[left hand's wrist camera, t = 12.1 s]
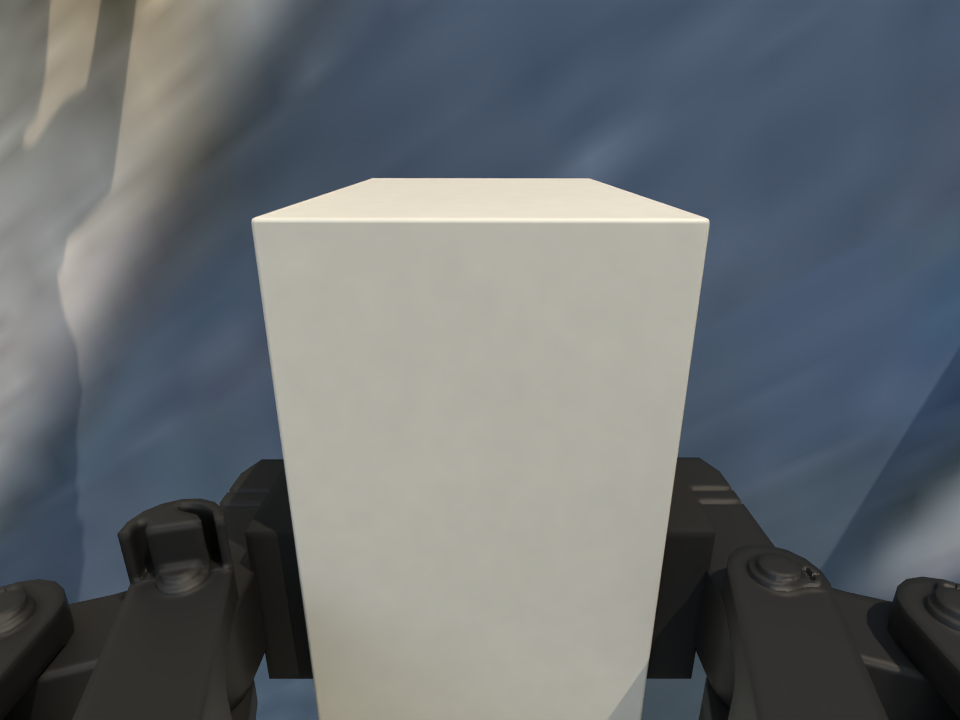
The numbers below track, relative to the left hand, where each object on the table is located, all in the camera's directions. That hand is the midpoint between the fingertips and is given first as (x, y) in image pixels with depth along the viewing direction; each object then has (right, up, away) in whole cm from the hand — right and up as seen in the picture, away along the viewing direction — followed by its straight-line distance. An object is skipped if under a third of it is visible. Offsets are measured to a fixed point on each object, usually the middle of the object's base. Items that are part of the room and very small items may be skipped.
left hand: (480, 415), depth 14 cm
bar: (0, -31, +12) cm, 33 cm away
